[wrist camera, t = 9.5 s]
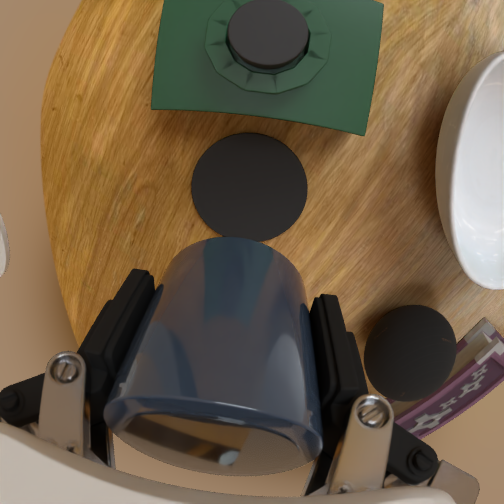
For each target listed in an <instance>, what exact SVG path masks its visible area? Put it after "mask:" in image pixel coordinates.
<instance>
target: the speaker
mask: <svg viewBox="0 0 504 504" xmlns="http://www.w3.org/2000/svg"><path fill="white" fill-rule="evenodd" d="M456 352H457V346H456V338H455V334H454V332H453V329H452V327H451V325H450V324H449V322H448V321H447V320H446V318H445V317H444V316H443V315H442V314H440V313H439V312H438V311H436V310H434V309H432V308H430V307H427V306H422V305H407V306H403V307H400V308H397V309H395V310H393V311H391V312H389V313H388V314H386V315H385V316H384V317H383V318H382V319H381V320H380V321H379V322H378V323H377V324H376V325H375V326H374V328H373V329H372V331H371V333H370V335H369V337H368V339H367V342H366V346H365V351H364V366H365V370H366V374H367V376H368V379H369V381H370V382H371V384H372V385H373V387H374V388H375V389H376V390H377V391H378V392H379V393H381V394H382V395H383V396H385V397H387V398H389V399H392V400H395V401H400V402H411V401H417V400H420V399H423V398H425V397H427V396H429V395H431V394H432V393H434V392H435V391H436V390H438V389H439V388H440V387H441V386H442V385H443V384H444V382H445V381H446V380H447V378H448V377H449V375H450V373H451V371H452V369H453V366H454V363H455V359H456Z"/></svg>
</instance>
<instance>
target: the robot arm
mask: <svg viewBox="0 0 504 504" xmlns="http://www.w3.org/2000/svg"><path fill="white" fill-rule="evenodd" d="M154 292H155V286H154V277H153V276H152V275H150V274H149V271H147V270H140V269H132V271H131V272H130V274H129V275H128V277H127V278H126V280H125V281H124V283H123V285H122V286H121V288H120V289H119V291H118V292H117V294H116V296H115V297H114V299H113V300H108V301H107V303H106V304H105V306H104V307H103V309H102V310H101V312H100V314H99V315H98V317H97V319H96V320H95V322H94V324H93V325H92V327H91V329H90V330H89V332H88V334H87V336H86V337H85V339H84V341H83V342H82V344H81V346H80V348H79V350H78V351H77V353H75V352H72V351H64V352H60V353H58V354H56V355H55V356H53V357H52V358H51V359H50V361H49V362H48V364H47V367H46V371H45V373H43V374H40V375H38V376H35V377H32V378H30V379H27V380H24V381H21V382H19V383H16V384H13V385H10V386H8V387H6V388H4V389H3V390H2V391H1V392H0V504H475V502H476V499H477V497H478V494H479V490H480V489H479V483H478V481H477V479H476V478H475V477H473V476H472V475H469V474H468V473H466V472H464V471H462V470H461V469H459V468H457V467H455V466H453V465H452V464H450V463H448V462H446V461H445V460H441V461H439V460H438V458H437V454H436V453H435V451H434V450H433V449H432V448H431V447H430V446H429V445H427V444H426V443H424V442H423V441H421V440H420V439H418V438H417V437H415V436H414V435H413V434H411V433H410V432H408V431H407V430H405V429H404V428H403V427H401V426H400V425H398V424H397V423H395V422H394V411H393V409H392V406H391V405H390V403H389V402H388V401H387V400H386V399H385V398H383V397H381V396H379V395H377V394H369V393H368V388H367V384H366V380H365V375H364V371H363V367H362V363H361V359H360V355H359V351H358V347H357V344H356V340H355V337H354V334H353V333H352V332H346V328H345V324H344V320H343V316H342V312H341V309H340V305H339V301H338V298H337V296H336V295H328V294H321V295H320V297H319V298H318V297H315V298H314V301H313V304H312V307H311V310H310V313H309V315H310V323H311V330H312V337H313V345H314V352H315V360H316V369H317V377H318V386H319V395H320V405H321V415H322V426H323V437H324V447H323V450H322V452H321V453H320V455H319V456H318V457H317V458H315V459H314V462H313V465H312V468H311V470H310V473H309V476H308V478H307V481H306V483H305V486H304V489H303V491H302V493H301V496H300V497H263V496H246V495H234V494H224V493H216V492H208V491H201V490H196V489H190V488H185V487H179V486H175V485H170V484H165V483H161V482H157V481H153V480H149V479H145V478H142V477H138V476H135V475H131V474H128V473H125V472H121V471H119V470H116V468H115V458H114V446H113V432H112V431H111V430H110V428H109V427H108V426H107V424H106V423H105V421H104V418H103V408H104V405H105V402H106V400H107V397H108V395H109V392H110V390H111V387H112V385H113V383H114V380H115V378H116V375H117V373H118V371H119V368H120V366H121V364H122V361H123V359H124V357H125V354H126V352H127V350H128V347H129V345H130V343H131V341H132V339H133V336H134V334H135V332H136V330H137V328H138V325H139V323H140V321H141V319H142V317H143V315H144V313H145V311H146V309H147V306H148V304H149V302H150V300H151V298H152V296H153V294H154Z"/></svg>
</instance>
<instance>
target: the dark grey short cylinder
mask: <svg viewBox="0 0 504 504" xmlns="http://www.w3.org/2000/svg"><path fill="white" fill-rule="evenodd" d="M308 34H309V31H308V25H307V22H306V20H305V18H304V17H303V15H302V14H301V13H300V11H299V10H298V9H296V8H295V7H294V6H292V5H291V4H289V3H287V2H285V1H282V0H253V1H250V2H247V3H246V4H244V5H242V6H241V7H240V8H238V9H237V10H236V11H235V13H234V14H233V15H232V17H231V19H230V21H229V24H228V38H229V42H230V44H231V46H232V48H233V49H234V50H235V52H236V53H237V55H238V56H239V57H240V58H241V59H242V60H243V61H245V62H246V63H248V64H249V65H252V66H254V67H257V68H261V69H276V68H280V67H283V66H286V65H288V64H290V63H291V62H292V61H294V60H295V59H296V58H297V57H298V56H299V54H300V53H301V52H302V51H303V49H304V48H305V46H306V43H307V41H308Z"/></svg>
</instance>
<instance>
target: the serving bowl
mask: <svg viewBox="0 0 504 504" xmlns="http://www.w3.org/2000/svg"><path fill="white" fill-rule="evenodd" d="M435 181H436V196H437V203H438V210H439V214H440V219H441V223H442V226H443V229H444V232H445V235H446V238H447V240H448V243H449V245H450V247H451V250H452V252H453V254H454V256H455V257H456V259H457V261H458V263H459V265H460V267H461V268H462V270H463V271H464V273H465V274H466V275H467V276H468V277H469V279H470V280H472V281H473V282H474V283H476V284H477V285H479V286H481V287H483V288H486V289H492V290H502V289H504V51H500V52H497V53H494V54H492V55H489V56H488V57H486V58H484V59H482V60H481V61H479V62H478V63H477V64H476V65H474V66H473V67H472V68H471V69H470V70H469V71H468V72H467V74H466V75H465V76H464V77H463V78H462V80H461V81H460V83H459V84H458V86H457V88H456V89H455V91H454V93H453V95H452V97H451V99H450V101H449V104H448V106H447V109H446V111H445V114H444V118H443V121H442V125H441V129H440V133H439V139H438V145H437V153H436V167H435Z"/></svg>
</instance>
